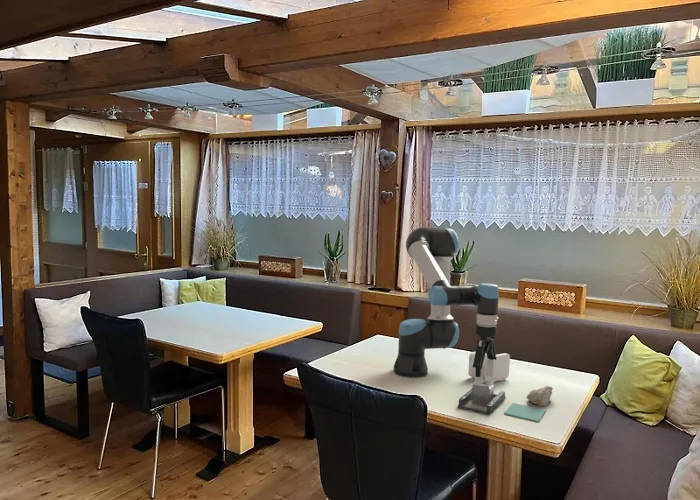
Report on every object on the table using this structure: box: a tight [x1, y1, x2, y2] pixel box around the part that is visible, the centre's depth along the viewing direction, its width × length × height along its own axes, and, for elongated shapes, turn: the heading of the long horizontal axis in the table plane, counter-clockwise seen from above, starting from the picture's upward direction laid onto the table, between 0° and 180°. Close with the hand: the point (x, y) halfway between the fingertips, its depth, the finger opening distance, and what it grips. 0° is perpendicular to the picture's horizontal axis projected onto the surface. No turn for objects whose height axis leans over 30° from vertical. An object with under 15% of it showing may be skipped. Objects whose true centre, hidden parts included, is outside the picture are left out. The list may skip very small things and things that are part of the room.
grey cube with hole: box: [471, 379, 495, 408], centre depth 200 cm, size 7×6×8 cm
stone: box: [526, 385, 554, 407], centre depth 204 cm, size 8×12×10 cm, turn 138°
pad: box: [503, 402, 547, 423], centre depth 192 cm, size 12×12×1 cm
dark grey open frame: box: [457, 388, 507, 416], centre depth 201 cm, size 12×20×3 cm, turn 148°
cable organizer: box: [468, 351, 511, 383], centre depth 229 cm, size 15×11×12 cm
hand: (484, 380), depth 200 cm, fingers open, 13 cm apart
